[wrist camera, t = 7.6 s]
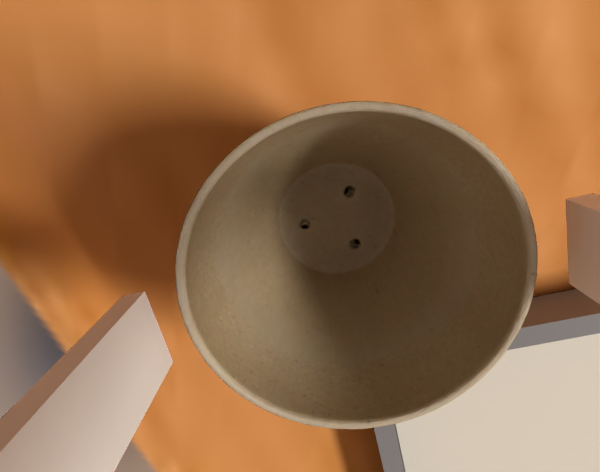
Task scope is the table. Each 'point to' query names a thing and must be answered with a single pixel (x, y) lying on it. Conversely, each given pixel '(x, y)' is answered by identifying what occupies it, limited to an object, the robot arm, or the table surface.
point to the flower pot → (356, 265)
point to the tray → (517, 403)
